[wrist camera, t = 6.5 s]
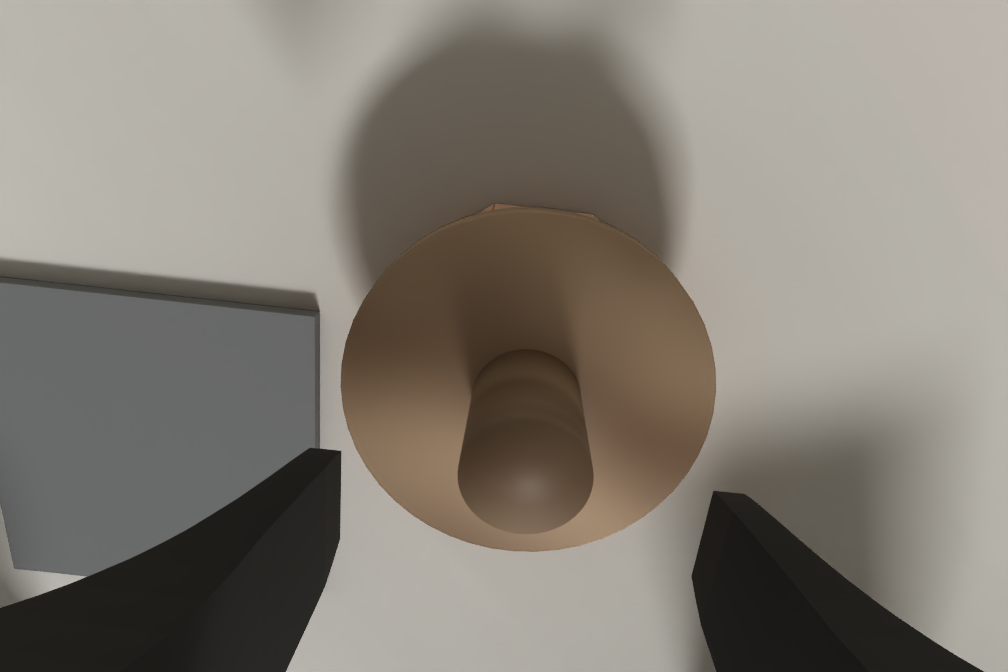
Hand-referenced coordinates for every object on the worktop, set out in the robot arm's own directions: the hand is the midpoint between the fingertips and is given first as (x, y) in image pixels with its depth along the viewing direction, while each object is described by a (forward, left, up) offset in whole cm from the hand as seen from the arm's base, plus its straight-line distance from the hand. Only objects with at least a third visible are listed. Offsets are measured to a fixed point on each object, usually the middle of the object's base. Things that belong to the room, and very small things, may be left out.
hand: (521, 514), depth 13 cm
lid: (0, 0, -5) cm, 5 cm away
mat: (-5, +12, -8) cm, 15 cm away
